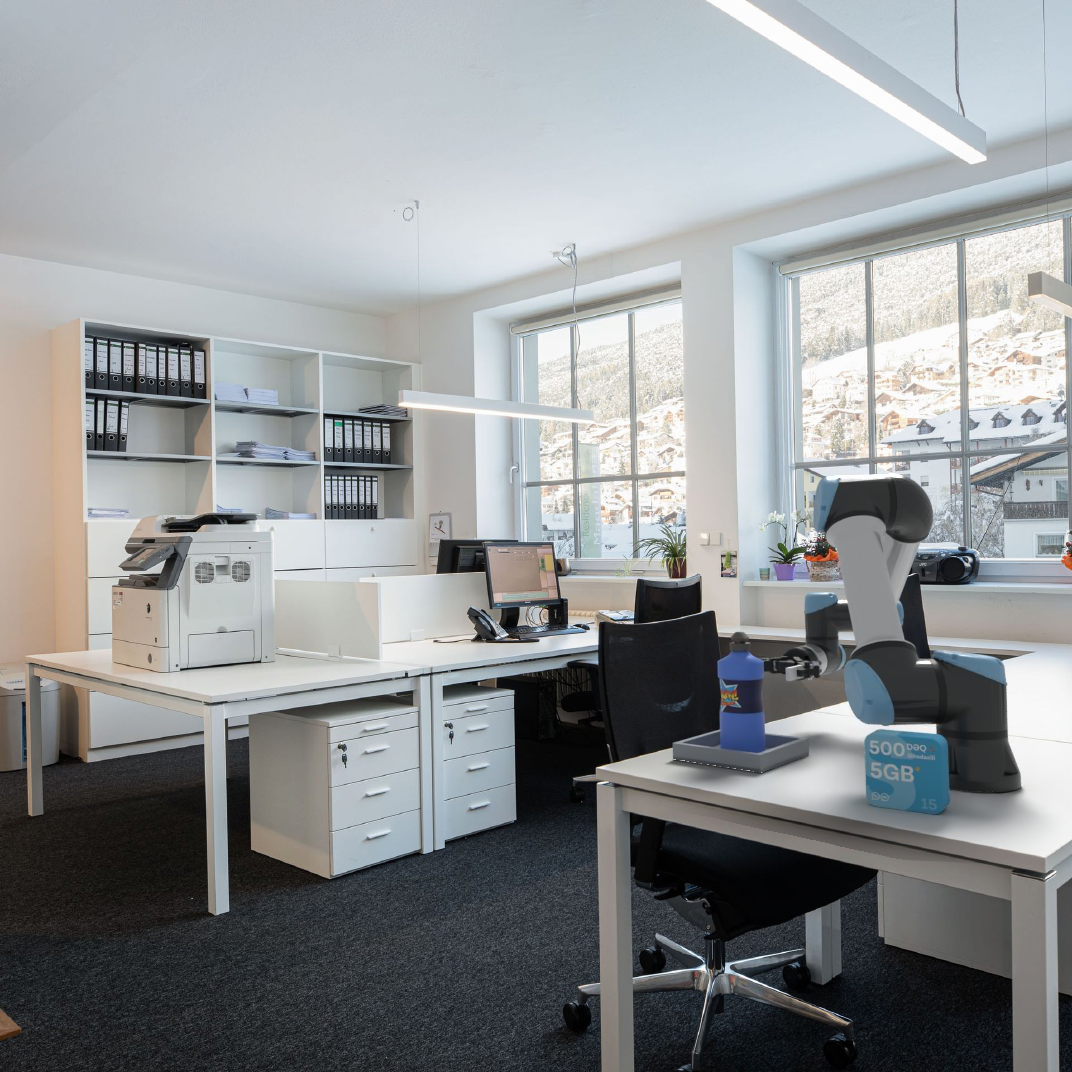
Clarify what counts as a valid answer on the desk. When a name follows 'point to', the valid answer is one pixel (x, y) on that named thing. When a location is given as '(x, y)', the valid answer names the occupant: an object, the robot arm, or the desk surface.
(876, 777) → the data package
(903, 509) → the robot arm
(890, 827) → the desk surface
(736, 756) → the tray
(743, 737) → the water bottle
